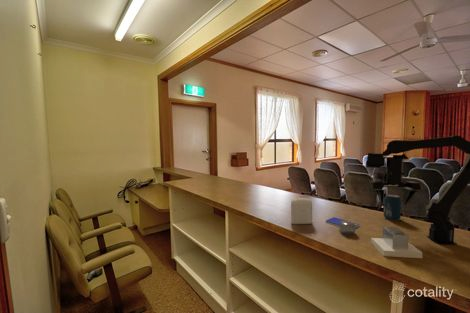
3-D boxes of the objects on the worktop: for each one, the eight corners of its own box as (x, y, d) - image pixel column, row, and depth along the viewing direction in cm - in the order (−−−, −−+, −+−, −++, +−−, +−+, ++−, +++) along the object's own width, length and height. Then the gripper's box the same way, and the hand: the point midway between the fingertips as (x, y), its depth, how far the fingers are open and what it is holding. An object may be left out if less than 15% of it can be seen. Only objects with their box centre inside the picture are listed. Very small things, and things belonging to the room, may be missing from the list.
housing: (408, 249, 77) (408, 234, 77) (392, 248, 78) (393, 233, 78) (396, 240, 84) (397, 226, 84) (382, 239, 85) (383, 225, 84)
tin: (343, 228, 101) (344, 219, 100) (357, 233, 96) (357, 224, 96) (336, 231, 97) (337, 222, 97) (350, 236, 93) (351, 227, 92)
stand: (404, 244, 85) (404, 239, 85) (422, 258, 75) (422, 252, 75) (370, 242, 87) (371, 237, 87) (383, 256, 77) (384, 250, 77)
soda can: (399, 217, 113) (400, 194, 112) (401, 222, 107) (402, 197, 106) (383, 215, 117) (384, 193, 116) (384, 219, 111) (385, 196, 110)
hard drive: (359, 224, 103) (334, 216, 114) (350, 228, 99) (325, 220, 109) (359, 227, 104) (334, 219, 114) (350, 231, 99) (325, 223, 109)
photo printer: (292, 224, 106) (292, 199, 105) (290, 221, 111) (290, 197, 110) (313, 224, 106) (313, 199, 105) (310, 221, 111) (310, 197, 110)
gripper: (406, 166, 102) (405, 199, 103) (363, 166, 105) (362, 198, 106) (423, 170, 91) (421, 207, 92) (374, 170, 94) (373, 205, 95)
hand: (392, 204), depth 97 cm, fingers open, 9 cm apart
